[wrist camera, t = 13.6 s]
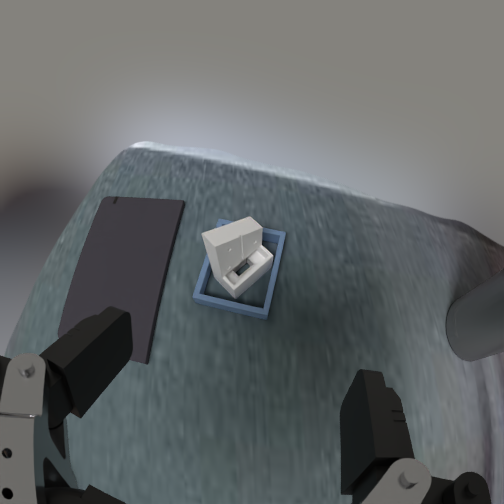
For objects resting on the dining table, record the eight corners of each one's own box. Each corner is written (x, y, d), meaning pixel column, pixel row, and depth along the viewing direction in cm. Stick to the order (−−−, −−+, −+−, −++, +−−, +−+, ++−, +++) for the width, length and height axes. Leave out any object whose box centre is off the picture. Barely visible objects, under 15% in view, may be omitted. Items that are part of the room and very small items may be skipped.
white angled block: (181, 294, 31) (201, 233, 25) (242, 263, 38) (269, 209, 33) (202, 319, 30) (229, 261, 24) (262, 282, 37) (293, 230, 31)
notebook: (149, 365, 30) (185, 206, 40) (145, 363, 29) (183, 199, 38) (62, 341, 31) (107, 202, 40) (56, 338, 29) (103, 195, 39)
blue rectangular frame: (284, 240, 37) (285, 232, 35) (266, 319, 32) (267, 315, 30) (220, 227, 37) (218, 218, 36) (195, 302, 33) (192, 297, 31)
